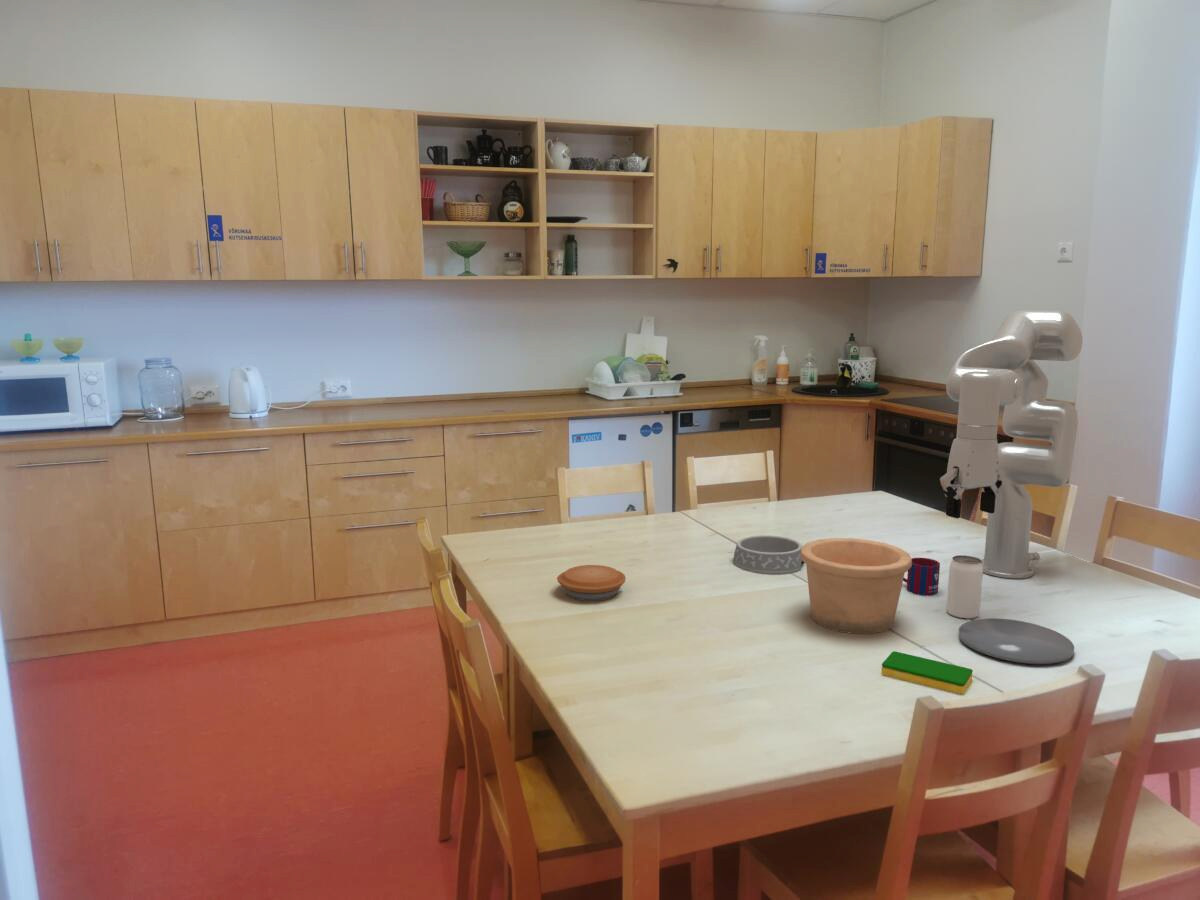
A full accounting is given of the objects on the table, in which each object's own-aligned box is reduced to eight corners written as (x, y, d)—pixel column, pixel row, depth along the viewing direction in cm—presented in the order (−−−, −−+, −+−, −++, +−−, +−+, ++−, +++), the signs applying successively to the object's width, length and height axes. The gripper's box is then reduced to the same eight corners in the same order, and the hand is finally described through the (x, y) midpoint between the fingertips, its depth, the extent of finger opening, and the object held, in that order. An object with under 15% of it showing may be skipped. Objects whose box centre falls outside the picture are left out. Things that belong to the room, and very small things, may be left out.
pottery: (850, 647, 164) (854, 575, 161) (776, 610, 183) (778, 545, 180) (930, 627, 174) (935, 559, 171) (852, 594, 193) (856, 532, 190)
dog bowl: (726, 570, 210) (727, 549, 209) (743, 550, 227) (743, 530, 226) (797, 579, 204) (797, 557, 203) (808, 557, 220) (809, 537, 219)
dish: (1006, 618, 178) (1007, 612, 178) (1097, 654, 160) (1098, 647, 160) (935, 635, 170) (936, 628, 169) (1023, 675, 152) (1024, 667, 152)
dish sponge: (962, 697, 145) (964, 683, 144) (880, 676, 152) (881, 663, 152) (972, 681, 150) (973, 668, 150) (892, 662, 158) (893, 650, 158)
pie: (636, 586, 198) (636, 566, 197) (608, 609, 184) (608, 586, 183) (576, 577, 204) (576, 557, 204) (545, 598, 191) (545, 577, 190)
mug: (926, 597, 190) (928, 568, 189) (888, 585, 198) (889, 557, 197) (943, 591, 194) (946, 562, 193) (905, 579, 202) (907, 552, 201)
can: (940, 608, 184) (944, 555, 182) (969, 607, 184) (973, 554, 182) (955, 620, 177) (959, 564, 175) (985, 619, 178) (989, 563, 176)
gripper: (991, 427, 181) (984, 506, 184) (931, 432, 174) (925, 514, 177) (1022, 432, 174) (1014, 514, 177) (960, 438, 167) (954, 523, 170)
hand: (970, 514), depth 177 cm, fingers open, 9 cm apart
